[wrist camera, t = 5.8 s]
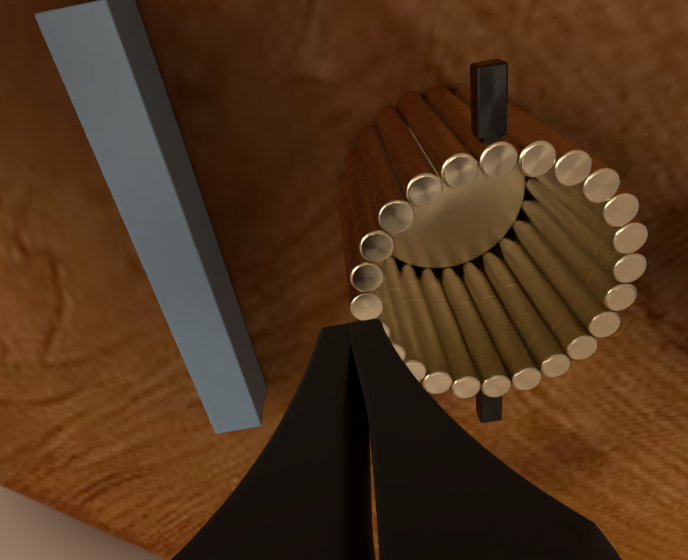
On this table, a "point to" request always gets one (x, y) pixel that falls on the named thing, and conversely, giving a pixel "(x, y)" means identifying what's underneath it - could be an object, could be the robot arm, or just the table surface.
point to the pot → (485, 240)
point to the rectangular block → (158, 198)
